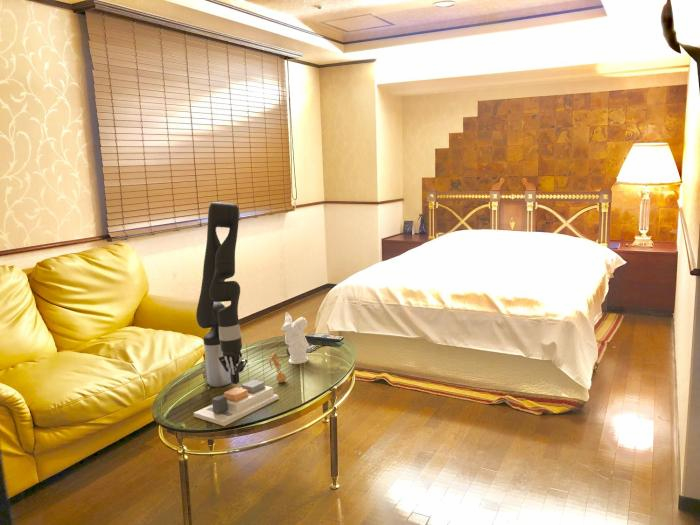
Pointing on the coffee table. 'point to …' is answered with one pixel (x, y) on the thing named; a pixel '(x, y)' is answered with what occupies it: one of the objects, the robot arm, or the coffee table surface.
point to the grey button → (253, 386)
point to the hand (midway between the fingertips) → (235, 383)
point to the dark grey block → (219, 404)
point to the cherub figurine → (296, 339)
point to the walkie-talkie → (306, 348)
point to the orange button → (236, 394)
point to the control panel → (238, 407)
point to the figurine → (278, 368)
